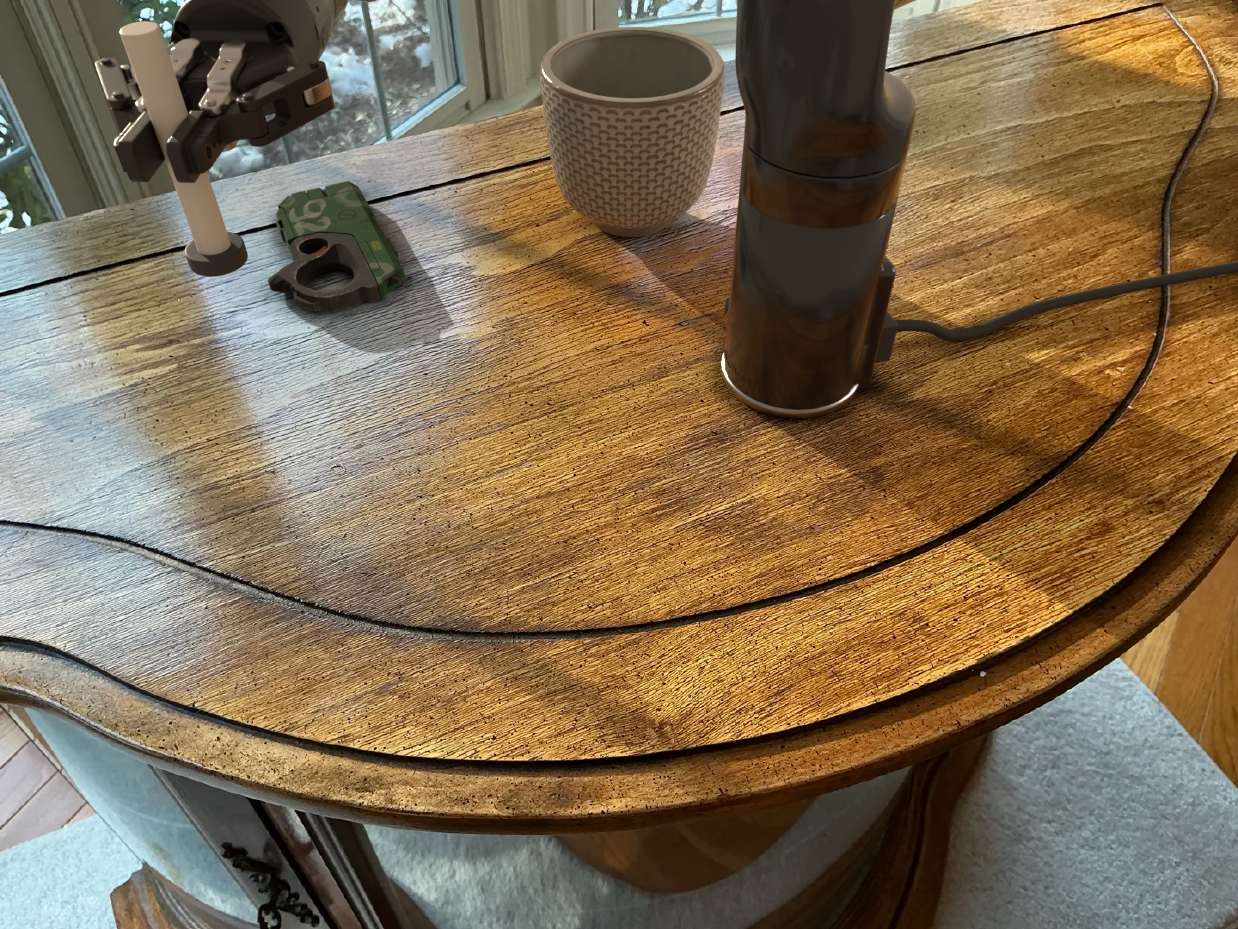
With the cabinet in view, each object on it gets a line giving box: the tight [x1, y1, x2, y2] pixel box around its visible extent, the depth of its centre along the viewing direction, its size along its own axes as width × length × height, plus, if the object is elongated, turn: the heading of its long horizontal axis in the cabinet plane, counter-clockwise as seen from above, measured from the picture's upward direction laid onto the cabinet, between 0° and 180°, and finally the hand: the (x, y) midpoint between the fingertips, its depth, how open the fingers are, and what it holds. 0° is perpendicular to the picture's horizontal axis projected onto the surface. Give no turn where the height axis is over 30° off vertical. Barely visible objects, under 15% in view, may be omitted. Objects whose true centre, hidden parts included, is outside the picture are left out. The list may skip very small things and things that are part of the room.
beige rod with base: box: [119, 20, 249, 278], centre depth 51 cm, size 3×3×13 cm
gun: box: [267, 180, 406, 313], centre depth 78 cm, size 16×1×10 cm
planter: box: [539, 26, 726, 238], centre depth 78 cm, size 14×14×13 cm
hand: (155, 165), depth 49 cm, fingers closed on beige rod with base, 2 cm apart
